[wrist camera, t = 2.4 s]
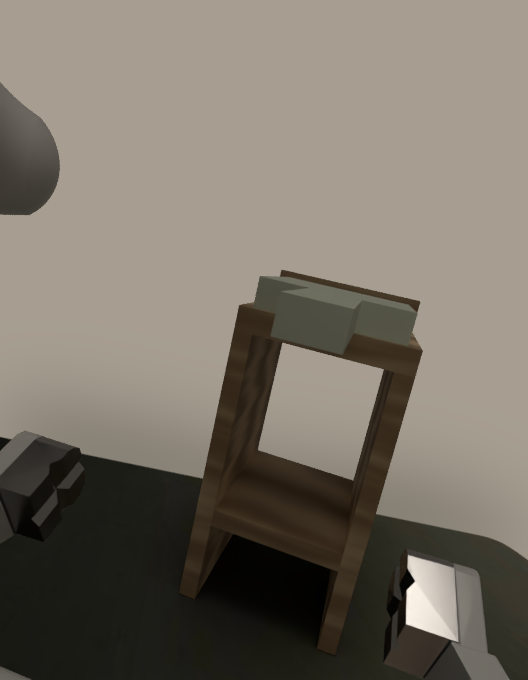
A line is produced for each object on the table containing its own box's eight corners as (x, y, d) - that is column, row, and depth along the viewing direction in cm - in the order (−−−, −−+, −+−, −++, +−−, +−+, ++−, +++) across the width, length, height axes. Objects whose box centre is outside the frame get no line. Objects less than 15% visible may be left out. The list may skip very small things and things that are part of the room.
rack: (334, 655, 38) (434, 310, 32) (179, 593, 40) (247, 266, 35) (347, 556, 51) (418, 301, 46) (229, 514, 54) (284, 270, 49)
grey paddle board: (419, 375, 23) (433, 327, 23) (202, 318, 26) (211, 275, 26) (401, 329, 45) (408, 304, 44) (283, 300, 47) (288, 277, 47)
